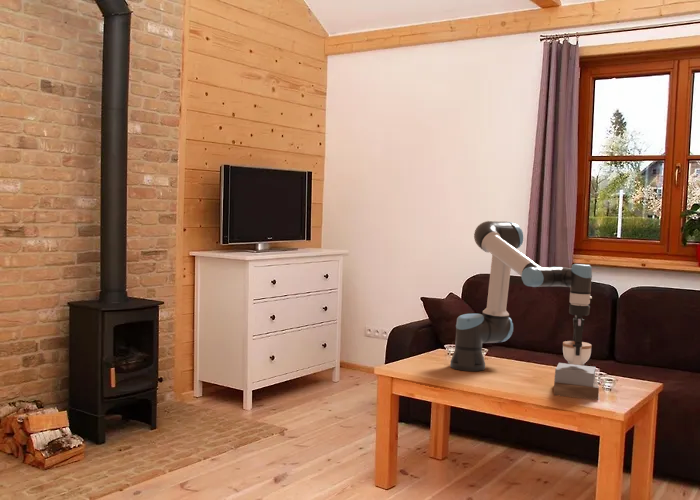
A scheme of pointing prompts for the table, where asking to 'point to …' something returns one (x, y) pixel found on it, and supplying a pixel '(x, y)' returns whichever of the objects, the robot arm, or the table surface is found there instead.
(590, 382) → the grey square slab
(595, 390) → the tower base
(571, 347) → the lidded jar
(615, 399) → the table surface
